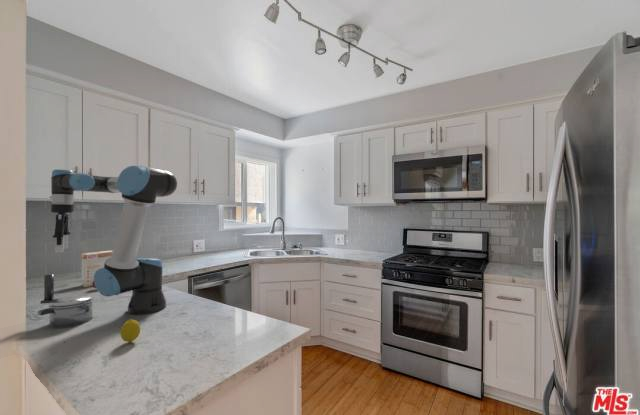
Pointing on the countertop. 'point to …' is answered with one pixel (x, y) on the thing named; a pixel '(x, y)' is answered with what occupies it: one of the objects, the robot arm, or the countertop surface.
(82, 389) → the countertop surface
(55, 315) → the pot
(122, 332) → the lemon
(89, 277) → the coffeecake box
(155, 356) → the countertop surface
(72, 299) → the lid
